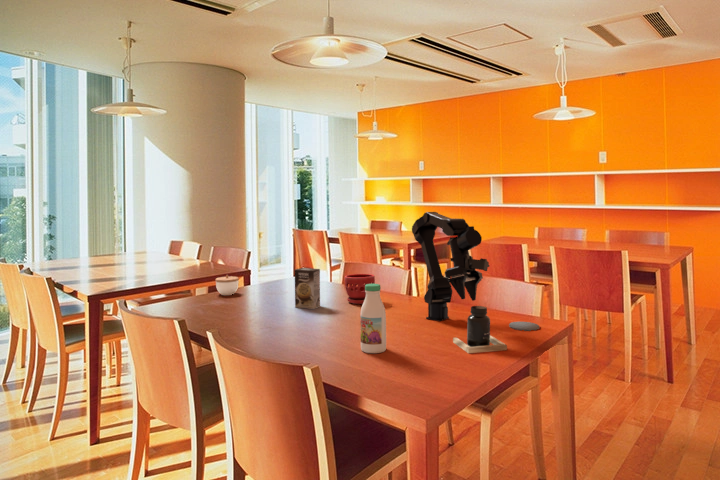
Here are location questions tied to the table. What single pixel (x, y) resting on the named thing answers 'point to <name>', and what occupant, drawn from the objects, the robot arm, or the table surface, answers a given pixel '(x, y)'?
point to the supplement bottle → (478, 327)
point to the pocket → (496, 347)
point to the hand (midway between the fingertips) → (468, 299)
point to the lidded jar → (227, 285)
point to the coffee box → (307, 288)
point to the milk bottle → (373, 321)
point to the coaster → (524, 326)
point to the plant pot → (357, 287)
